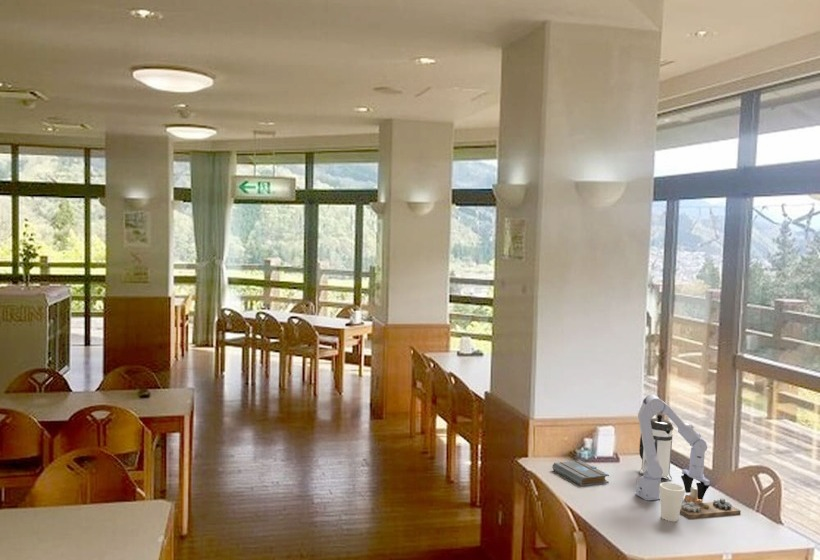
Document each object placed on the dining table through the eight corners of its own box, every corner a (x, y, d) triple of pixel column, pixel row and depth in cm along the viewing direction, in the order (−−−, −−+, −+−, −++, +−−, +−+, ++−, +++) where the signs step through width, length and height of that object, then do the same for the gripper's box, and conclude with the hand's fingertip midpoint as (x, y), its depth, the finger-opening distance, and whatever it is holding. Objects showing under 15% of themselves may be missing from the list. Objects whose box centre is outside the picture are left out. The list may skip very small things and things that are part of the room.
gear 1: (689, 513, 280) (690, 505, 279) (678, 506, 286) (678, 499, 286) (703, 511, 282) (704, 504, 282) (691, 505, 288) (692, 498, 288)
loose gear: (692, 504, 294) (693, 492, 293) (681, 498, 300) (682, 486, 300) (705, 503, 296) (706, 491, 296) (694, 497, 302) (695, 485, 302)
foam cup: (670, 524, 271) (673, 492, 270) (652, 515, 279) (654, 483, 278) (687, 521, 275) (689, 489, 274) (668, 512, 283) (671, 481, 283)
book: (552, 471, 328) (552, 461, 327) (580, 468, 334) (581, 458, 334) (579, 487, 308) (580, 476, 308) (609, 483, 315) (610, 473, 315)
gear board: (689, 518, 278) (689, 512, 278) (672, 509, 287) (672, 502, 287) (740, 514, 286) (740, 507, 286) (722, 504, 296) (722, 498, 295)
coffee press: (675, 475, 330) (680, 414, 329) (667, 484, 317) (673, 420, 315) (638, 467, 340) (643, 407, 338) (629, 476, 326) (634, 413, 324)
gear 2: (721, 510, 285) (722, 503, 285) (709, 503, 291) (709, 497, 291) (734, 509, 287) (735, 502, 287) (722, 502, 294) (723, 495, 293)
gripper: (716, 469, 292) (713, 501, 292) (692, 459, 305) (689, 489, 306) (702, 470, 289) (700, 502, 290) (679, 459, 303) (676, 490, 304)
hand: (694, 495), depth 298 cm, fingers open, 7 cm apart
